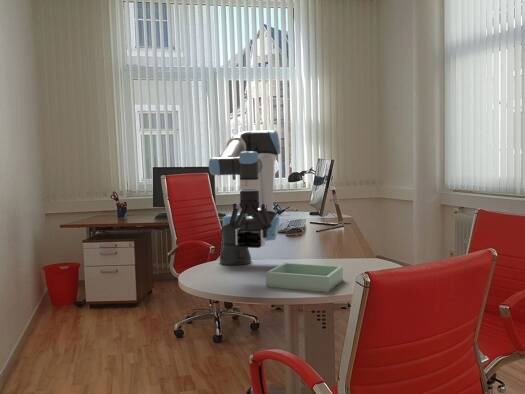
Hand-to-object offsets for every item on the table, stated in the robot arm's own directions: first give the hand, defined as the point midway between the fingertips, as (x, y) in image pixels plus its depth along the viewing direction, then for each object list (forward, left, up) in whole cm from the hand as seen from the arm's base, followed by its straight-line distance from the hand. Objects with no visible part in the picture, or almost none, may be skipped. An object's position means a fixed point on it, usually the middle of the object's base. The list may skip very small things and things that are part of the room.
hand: (250, 245), depth 204 cm
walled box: (+23, 0, -14) cm, 27 cm away
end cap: (0, 0, -1) cm, 1 cm away
